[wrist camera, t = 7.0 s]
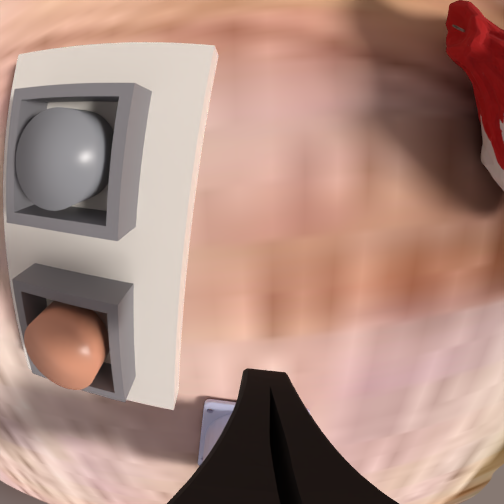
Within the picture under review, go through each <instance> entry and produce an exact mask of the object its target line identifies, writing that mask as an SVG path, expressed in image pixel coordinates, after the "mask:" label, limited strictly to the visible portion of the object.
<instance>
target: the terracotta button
mask: <svg viewBox="0 0 504 504" xmlns="http://www.w3.org/2000/svg"><path fill="white" fill-rule="evenodd" d="M24 343H25V347H26V351H27V353H28V355H29V357H30V359H31V361H32V362H33V364H34V365H35V366H36V368H37V369H38V370H39V371H40V372H41V373H42V374H43V375H44V376H45V377H47V378H48V379H49V380H51V381H52V382H54V383H55V384H57V385H59V386H62V387H64V388H68V389H73V390H80V389H84V388H86V387H88V386H89V385H90V384H91V383H92V382H93V380H94V378H95V376H96V374H97V373H98V371H99V369H100V367H101V366H102V364H103V362H104V360H105V359H106V357H107V355H108V353H109V351H110V347H109V335H108V331H107V329H106V327H105V325H104V323H103V322H102V320H101V319H100V318H99V316H98V315H97V314H96V313H95V312H94V311H93V310H90V309H86V308H82V307H78V306H74V305H70V304H66V303H62V302H58V301H53V302H52V303H51V304H49V305H48V306H47V307H46V308H45V309H44V310H43V311H42V312H41V313H40V314H39V315H38V316H37V317H36V318H35V319H34V320H33V321H32V322H31V323H30V324H29V325H28V327H27V328H26V330H25V334H24Z"/></svg>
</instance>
